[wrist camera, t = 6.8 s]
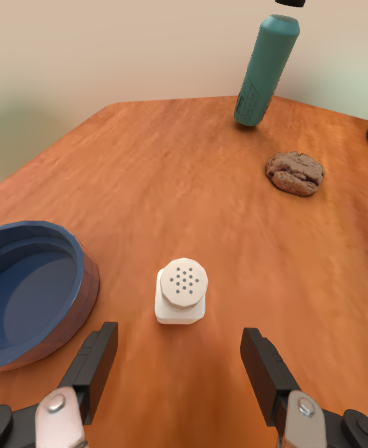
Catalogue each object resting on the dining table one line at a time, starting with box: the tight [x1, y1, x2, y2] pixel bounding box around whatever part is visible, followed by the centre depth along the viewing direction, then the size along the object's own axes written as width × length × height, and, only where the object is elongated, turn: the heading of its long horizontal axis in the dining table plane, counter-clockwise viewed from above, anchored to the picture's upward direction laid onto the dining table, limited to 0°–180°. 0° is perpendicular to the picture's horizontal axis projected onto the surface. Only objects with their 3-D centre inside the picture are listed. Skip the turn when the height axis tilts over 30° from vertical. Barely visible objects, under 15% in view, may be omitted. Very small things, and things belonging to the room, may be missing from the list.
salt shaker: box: [154, 258, 208, 324], centre depth 16 cm, size 4×4×10 cm
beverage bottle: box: [234, 0, 305, 126], centre depth 33 cm, size 6×7×20 cm
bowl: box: [0, 221, 99, 372], centre depth 17 cm, size 12×12×5 cm
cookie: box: [266, 151, 325, 196], centre depth 32 cm, size 10×11×3 cm
